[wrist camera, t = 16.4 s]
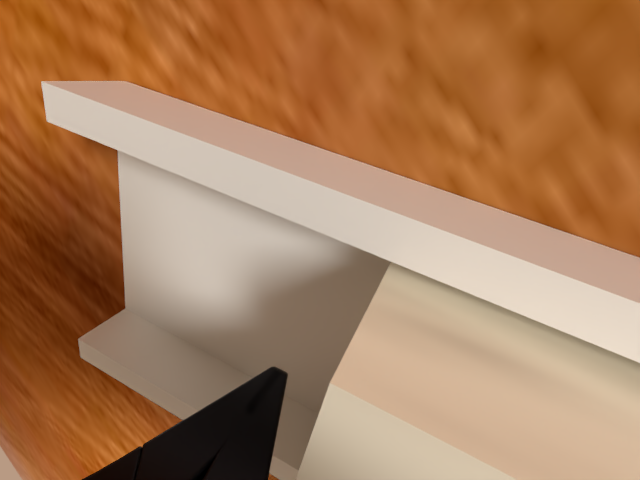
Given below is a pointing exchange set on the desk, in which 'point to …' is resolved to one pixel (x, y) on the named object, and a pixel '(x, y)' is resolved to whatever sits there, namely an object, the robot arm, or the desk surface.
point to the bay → (298, 256)
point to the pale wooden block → (471, 396)
